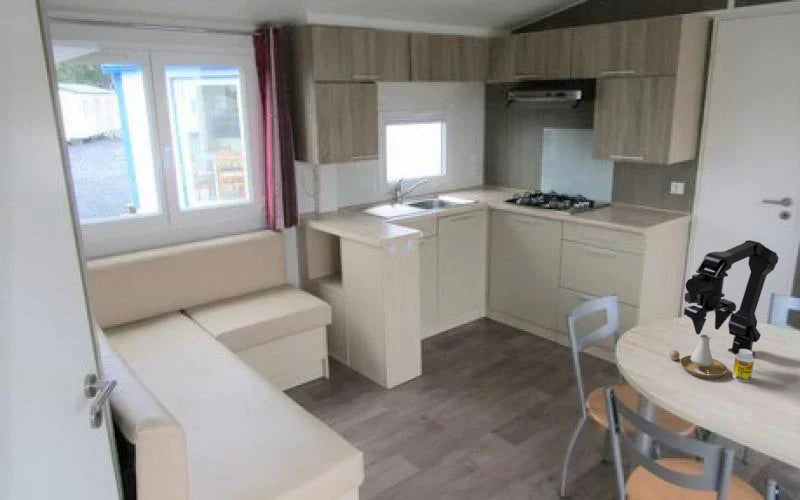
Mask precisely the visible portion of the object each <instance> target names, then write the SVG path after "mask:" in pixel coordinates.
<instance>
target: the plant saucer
mask: <svg viewBox="0 0 800 500" xmlns="http://www.w3.org/2000/svg"><path fill="white" fill-rule="evenodd" d="M692 355H693V354H692ZM692 355H685V356H683V357H681V358H679V363H680V365H681V367H682V368H683V369H684V370H685V371H686V372H687V373H688V374H690V375H692V376H695V377H698V378H702V379H703V378H704V379H716V378H719V377H722V376H723V375H725V373H727V371H728V367H727V366H726V364H725V363H723V362H722V361H720V360H718V359H715V358H713V357H712V359H713V363H714V365H711V366H699V365H697V364H695V363H693V362H692V361H691V360H690V358H691V356H692ZM695 369H700V370H703V371H706V373H701V372H698V371H697V370H695ZM705 369H706V370H705ZM707 370H708V371H707ZM707 372H709V373H707ZM707 374H709V375H707Z"/></svg>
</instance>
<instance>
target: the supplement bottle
mask: <svg viewBox="0 0 800 500" xmlns="http://www.w3.org/2000/svg"><path fill="white" fill-rule="evenodd" d="M753 352H754V351H753ZM753 352H752V351H750V350H748V349H740V350H739V354H735V357H734V363H733V369H732V375H731V376H732V378H733V380H736V381H738V382H742V383H749V382H750V381H751V380H752V375H753V374H752V373H753V370H754V365H755V357H754V356H753Z"/></svg>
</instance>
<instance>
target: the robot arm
mask: <svg viewBox="0 0 800 500" xmlns="http://www.w3.org/2000/svg"><path fill="white" fill-rule="evenodd" d="M747 258H749V259H748V268H749V271H750V275H749V278H748V280H747V284H746V285H745V286H746V287H745V290H744V293H743V297H742V299H741V302H740V303H741V304H740V305H739V309H738V310H737V309H736V308H737V304H736V302H734V301H731V300H728V299H726V298H724V297H725V293H723V286H724V281H725V280H724V279H725V278H726V277H729V273H727V271H729V270H731V269H732V266H733V264H736V263H737V262H740V261H742V260H744V259H747ZM778 262H779V256H778V253H777V252H775V251H773V250H772V249H770V248H768V247H766V246H765V245H764V244H763V243H761V242H759V241H756V240H755V241H754V240H750V239H749V240H746V241H744V242H743V243H741V244H739V245H736V246H734V247H731V248H729V249H727V250H725V251H712V252H708V253H707V254H705V256H704V257H703V259H702V260H701V262H700V263H699V265H698V267H697V268H696V270H695V273H696V274H693V275H691V276H692V277H691V278H689V279H688V280H687V281H686V282H685V289H686V293H685V294H684V302H685V303H687V304H689V305H690V306H686V307H685V308H683V309H684V310H683V315H685V316H686V317H688V318H690V319H691V321H692V324H693V327H694V331H695V334H696V335H698V336H700V335H701V332H702V330H703V328H704V325H705V323H706V320H707V318H706V317H707V314H708V313H711V312H714V313H715V317H714V329H715V330H717V331H718V330H719V329H720V328H721V327H722V325H723V324H724V323H725V322H726V321H727V319H728V318H730V319H729V321H728V324H727V326H728V332H729V335H732V336H733V341H732V347H731V348H728V349H727V350H728V351H729V352H731V353H733V354H735V355H737V354H739V350H740V349H748V350H750V351H752V350H753V345H754V343H757V342H758V341H759V340H760V338H761V335H762V333H760V331H759V330H758V329H757V325H758V320H757V317H756V316H757V315H756V310H757V307H758V304H759V301H760V297H761V294H762V291H763V288H764V285H765V282H766V279H767V276H768V275H769V274H770V273H772V271H774V269H775V268H776V266H777V264H778ZM691 304H696V305H691ZM698 306H699V307H698ZM736 310H737V311H736ZM734 312H735V313H734ZM752 352H753V355H755V354H756V352H755V351H752Z"/></svg>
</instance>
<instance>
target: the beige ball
mask: <svg viewBox="0 0 800 500" xmlns="http://www.w3.org/2000/svg"><path fill="white" fill-rule="evenodd" d="M680 355H681V354H680V352H679V351H678V350H675V349H673V350H671V351H669V352H668V357H669V358H670V360H673V361H677V360H679V359H680Z"/></svg>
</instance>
